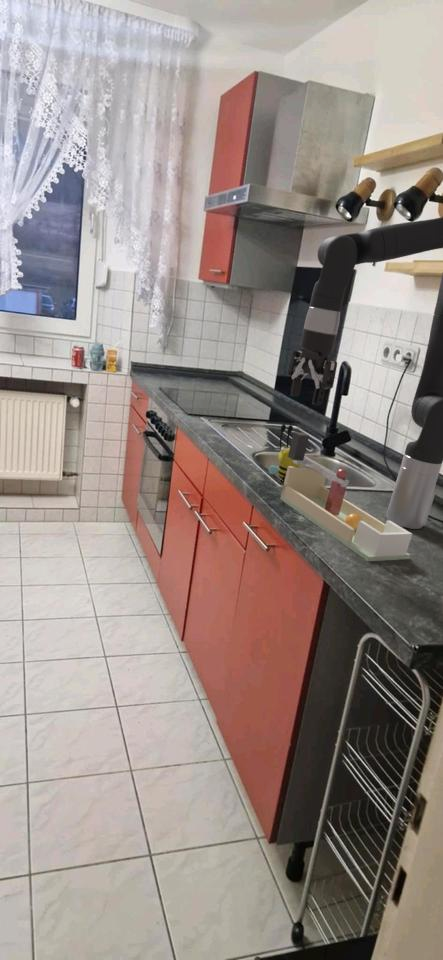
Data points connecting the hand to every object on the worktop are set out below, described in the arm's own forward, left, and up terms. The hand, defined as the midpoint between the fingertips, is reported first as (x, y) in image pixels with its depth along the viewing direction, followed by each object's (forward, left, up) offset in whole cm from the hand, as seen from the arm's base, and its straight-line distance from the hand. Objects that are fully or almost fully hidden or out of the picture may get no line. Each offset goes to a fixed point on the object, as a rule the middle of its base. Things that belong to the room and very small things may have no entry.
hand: (305, 400), depth 143 cm
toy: (-13, -19, -27) cm, 35 cm away
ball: (-8, +17, -23) cm, 30 cm away
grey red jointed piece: (-7, +2, -25) cm, 26 cm away
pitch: (-8, +13, -26) cm, 31 cm away
